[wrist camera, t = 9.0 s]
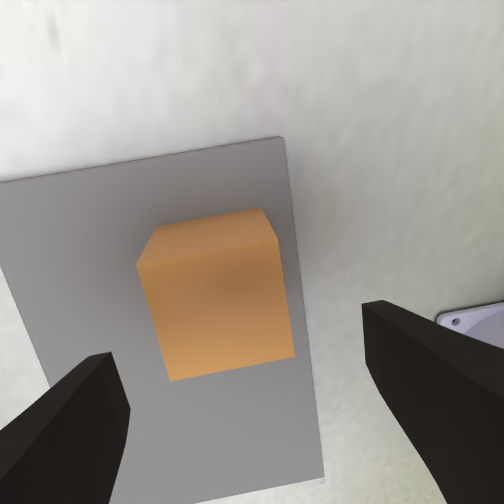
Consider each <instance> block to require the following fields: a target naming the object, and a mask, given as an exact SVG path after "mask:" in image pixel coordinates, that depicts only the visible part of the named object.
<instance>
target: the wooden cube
mask: <svg viewBox="0 0 504 504" xmlns="http://www.w3.org/2000/svg"><path fill="white" fill-rule="evenodd" d="M136 267H137V270H138V274H139V277H140V280H141V284H142V287H143V291H144V294H145V298H146V301H147V305H148V308H149V311H150V315H151V318H152V322H153V325H154V329H155V332H156V336H157V339H158V343H159V346H160V349H161V353H162V356H163V360H164V363H165V367H166V370H167V374H168V377H169V380H170V381H175V380H180V379H185V378H190V377H195V376H200V375H205V374H210V373H216V372H221V371H226V370H231V369H236V368H241V367H246V366H251V365H256V364H261V363H266V362H271V361H276V360H281V359H286V358H291V357H295V353H294V346H293V340H292V333H291V326H290V319H289V313H288V306H287V299H286V292H285V285H284V279H283V272H282V265H281V258H280V251H279V245H278V238H277V236H276V234H275V232H274V231H273V229H272V227H271V225H270V223H269V221H268V220H267V218H266V216H265V214H264V212H263V210H262V208H261V207H260V208H254V209H249V210H243V211H238V212H232V213H227V214H221V215H216V216H210V217H205V218H199V219H194V220H189V221H183V222H178V223H172V224H167V225H161V226H156V228H155V230H154V232H153V234H152V236H151V237H150V239H149V241H148V243H147V245H146V247H145V248H144V250H143V252H142V254H141V256H140V258H139V259H138V261H137V263H136Z"/></svg>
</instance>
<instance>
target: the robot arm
mask: <svg viewBox="0 0 504 504" xmlns="http://www.w3.org/2000/svg"><path fill="white" fill-rule="evenodd" d="M362 317H363V331H364V346H365V360H366V365H367V367H368V369H369V372H370V374H371V376H372V378H373V380H374V382H375V384H376V386H377V388H378V390H379V393H380V394H381V396H382V398H383V399H384V401H385V402H386V404H387V406H388V407H389V409H390V410H391V412H392V413H393V415H394V416H395V418H396V420H397V421H398V423H399V424H400V426H401V427H402V429H403V430H404V432H405V433H406V435H407V436H408V438H409V440H410V441H411V443H412V444H413V446H414V447H415V449H416V450H417V452H418V453H419V455H420V457H421V458H422V460H423V461H424V463H425V464H426V466H427V468H428V469H429V471H430V473H431V474H432V476H433V478H434V479H435V481H436V483H437V485H438V487H439V489H440V490H441V492H442V494H443V496H444V498H445V500H446V502H447V504H504V302H502V303H497V304H492V305H486V306H481V307H476V308H470V309H465V310H460V311H454V312H449V313H444V314H442V315H440V316H439V317H438V319H437V322H436V323H435V322H433V321H430V320H428V319H426V318H424V317H421V316H419V315H417V314H415V313H413V312H410V311H408V310H406V309H404V308H401V307H399V306H397V305H394V304H392V303H390V302H387V301H384V300H379V301H374V302H369V303H363V304H362ZM455 318H456V320H455V321H454V322H452V321H453V320H454V319H455ZM130 413H131V408H130V405H129V402H128V399H127V396H126V393H125V391H124V388H123V385H122V382H121V379H120V376H119V373H118V370H117V367H116V364H115V361H114V358H113V355H112V352H106V353H101V354H96V355H91V356H89V357H87V358H86V359H84V360H83V361H82V362H80V363H79V364H78V365H77V366H76V367H74V368H73V369H72V370H71V371H70V372H69V373H67V374H66V375H65V376H64V377H63V378H62V379H61V380H60V381H58V382H57V383H56V384H55V385H54V386H53V387H52V388H50V389H49V390H48V391H47V392H46V393H45V394H43V395H42V396H41V397H40V398H39V399H38V400H37V401H35V402H34V403H33V404H32V405H31V406H30V407H28V408H27V409H26V410H25V411H24V412H22V413H21V414H20V415H19V416H17V417H16V418H15V419H14V420H13V421H11V422H10V423H9V424H8V425H6V426H5V427H4V428H3V429H2V430H0V504H109V502H110V498H111V495H112V491H113V488H114V484H115V481H116V478H117V474H118V471H119V467H120V464H121V460H122V456H123V453H124V449H125V445H126V440H127V434H128V428H129V420H130Z"/></svg>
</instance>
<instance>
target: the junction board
mask: <svg viewBox="0 0 504 504" xmlns="http://www.w3.org/2000/svg"><path fill="white" fill-rule="evenodd" d="M260 207H261V208H262V210H263V212H264V214H265V216H266V218H267V220H268V221H269V223H270V225H271V227H272V229H273V231H274V232H275V234H276V236H277V238H278V245H279V251H280V258H281V265H282V272H283V279H284V285H285V292H286V299H287V306H288V313H289V319H290V326H291V333H292V340H293V346H294V353H295V357H291V358H286V359H281V360H276V361H271V362H266V363H261V364H256V365H251V366H246V367H241V368H236V369H231V370H226V371H221V372H216V373H210V374H205V375H200V376H195V377H190V378H185V379H180V380H175V381H170V380H169V377H168V374H167V370H166V367H165V363H164V360H163V356H162V353H161V349H160V346H159V343H158V339H157V336H156V332H155V329H154V325H153V322H152V318H151V315H150V311H149V308H148V305H147V301H146V298H145V294H144V291H143V287H142V284H141V280H140V277H139V274H138V270H137V267H136V263H137V261H138V259H139V258H140V256H141V254H142V252H143V250H144V248H145V247H146V245H147V243H148V241H149V239H150V237H151V236H152V234H153V232H154V230H155V228H156V226H161V225H167V224H172V223H178V222H183V221H189V220H194V219H199V218H205V217H210V216H216V215H221V214H227V213H232V212H238V211H243V210H249V209H254V208H260ZM0 267H1V269H2V272H3V274H4V277H5V279H6V281H7V284H8V286H9V289H10V291H11V294H12V296H13V298H14V301H15V303H16V306H17V308H18V310H19V313H20V315H21V318H22V320H23V323H24V325H25V327H26V330H27V332H28V335H29V337H30V340H31V342H32V344H33V347H34V349H35V352H36V354H37V357H38V359H39V361H40V364H41V366H42V369H43V371H44V373H45V376H46V378H47V381H48V383H49V386H50V388H52V387H53V386H54V385H55V384H56V383H57V382H58V381H60V380H61V379H62V378H63V377H64V376H65V375H66V374H67V373H69V372H70V371H71V370H72V369H73V368H74V367H76V366H77V365H78V364H79V363H80V362H82V361H83V360H84V359H86V358H87V357H89V356H91V355H96V354H101V353H106V352H112V355H113V358H114V361H115V364H116V367H117V370H118V373H119V376H120V379H121V382H122V385H123V388H124V391H125V393H126V396H127V399H128V402H129V405H130V408H131V413H130V420H129V428H128V434H127V440H126V445H125V449H124V453H123V456H122V460H121V464H120V467H119V471H118V474H117V478H116V481H115V484H114V488H113V491H112V495H111V498H110V502H109V504H194V503H199V502H204V501H208V500H213V499H218V498H223V497H228V496H233V495H238V494H243V493H248V492H253V491H258V490H263V489H268V488H273V487H277V486H282V485H287V484H292V483H297V482H302V481H307V480H312V479H317V478H322V477H324V468H323V460H322V452H321V443H320V435H319V427H318V418H317V410H316V402H315V393H314V385H313V377H312V368H311V360H310V352H309V343H308V335H307V327H306V318H305V310H304V302H303V293H302V285H301V277H300V269H299V260H298V252H297V244H296V235H295V227H294V219H293V210H292V202H291V194H290V185H289V177H288V169H287V160H286V152H285V144H284V138H283V137H279V136H278V137H272V138H266V139H260V140H254V141H248V142H242V143H236V144H230V145H224V146H218V147H212V148H206V149H200V150H194V151H188V152H182V153H176V154H170V155H164V156H158V157H152V158H146V159H140V160H134V161H128V162H122V163H116V164H110V165H104V166H98V167H92V168H86V169H80V170H74V171H68V172H62V173H56V174H50V175H44V176H38V177H32V178H26V179H20V180H14V181H8V182H2V183H0Z"/></svg>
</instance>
